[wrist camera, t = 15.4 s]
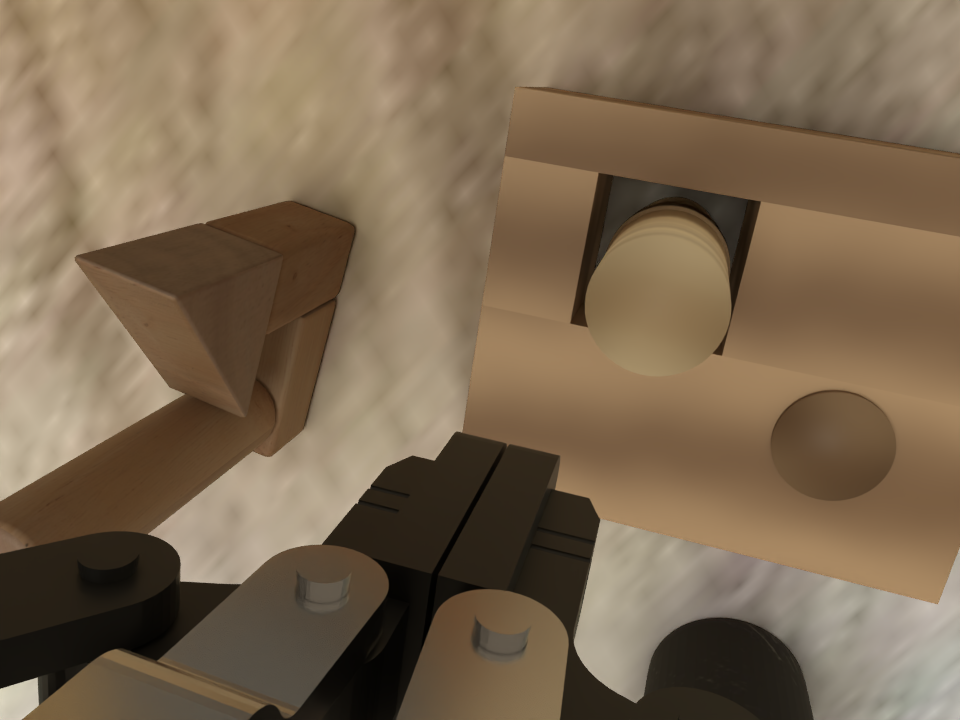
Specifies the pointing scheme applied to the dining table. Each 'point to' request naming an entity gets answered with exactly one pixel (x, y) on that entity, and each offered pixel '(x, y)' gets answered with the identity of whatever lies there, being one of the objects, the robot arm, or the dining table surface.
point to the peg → (661, 290)
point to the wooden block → (198, 365)
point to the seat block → (741, 340)
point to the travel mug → (733, 668)
